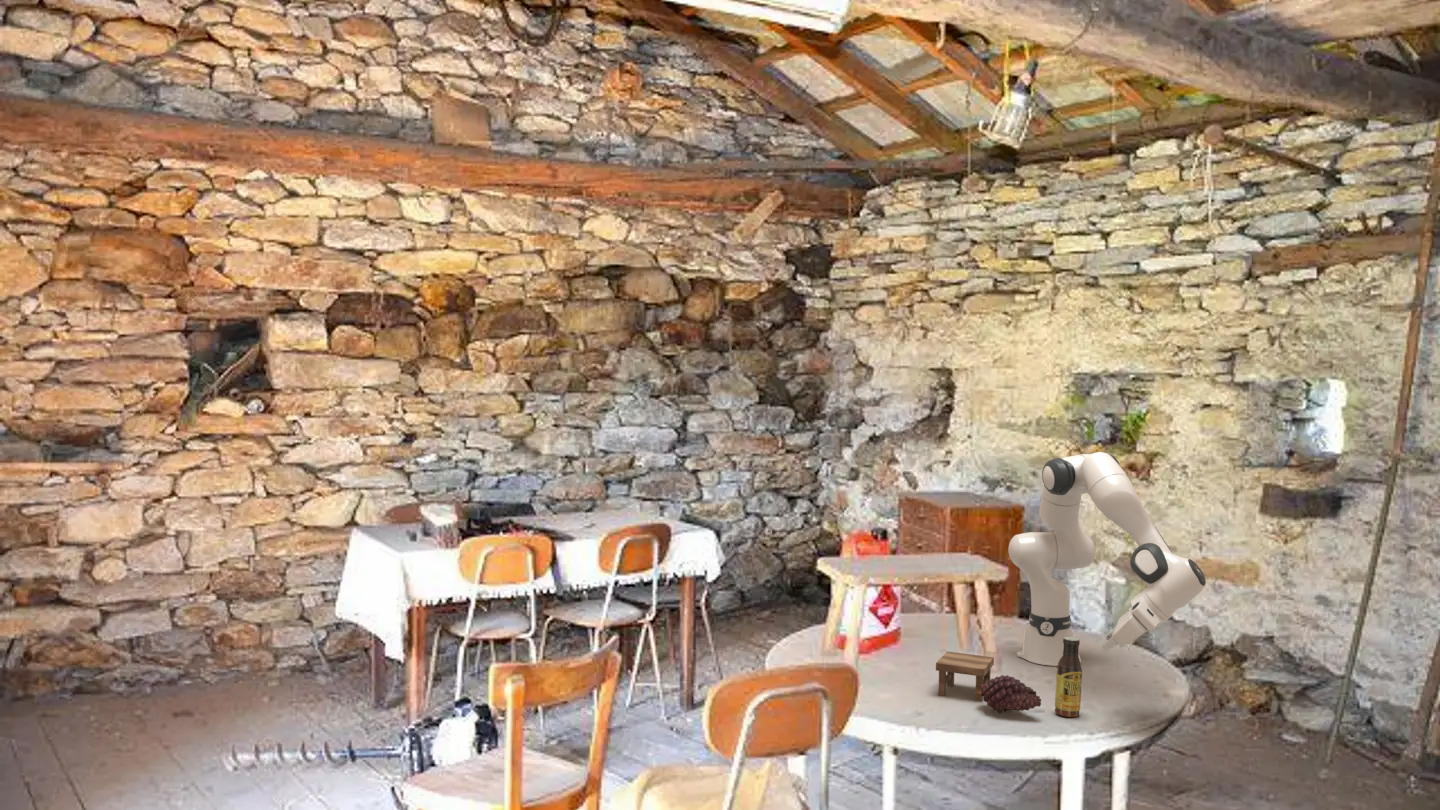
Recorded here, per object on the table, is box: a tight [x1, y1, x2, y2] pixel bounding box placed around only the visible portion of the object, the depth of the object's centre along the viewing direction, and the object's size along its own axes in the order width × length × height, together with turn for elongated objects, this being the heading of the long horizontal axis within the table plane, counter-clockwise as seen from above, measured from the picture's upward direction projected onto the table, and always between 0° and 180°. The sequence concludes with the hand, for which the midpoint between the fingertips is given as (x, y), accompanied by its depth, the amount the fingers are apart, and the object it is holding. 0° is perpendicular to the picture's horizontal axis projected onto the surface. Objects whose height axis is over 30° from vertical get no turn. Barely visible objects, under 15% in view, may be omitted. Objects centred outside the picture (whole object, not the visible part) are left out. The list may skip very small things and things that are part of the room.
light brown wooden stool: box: [935, 651, 995, 703], centre depth 301 cm, size 13×13×9 cm
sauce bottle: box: [1054, 636, 1083, 718], centre depth 283 cm, size 7×6×20 cm
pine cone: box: [977, 674, 1042, 714], centre depth 284 cm, size 18×10×10 cm, turn 49°
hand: (1105, 644), depth 279 cm, fingers open, 8 cm apart
